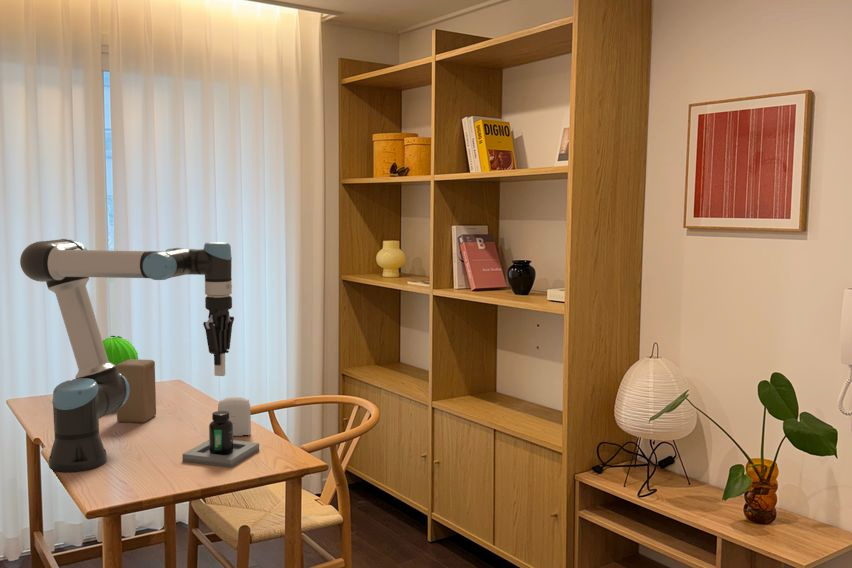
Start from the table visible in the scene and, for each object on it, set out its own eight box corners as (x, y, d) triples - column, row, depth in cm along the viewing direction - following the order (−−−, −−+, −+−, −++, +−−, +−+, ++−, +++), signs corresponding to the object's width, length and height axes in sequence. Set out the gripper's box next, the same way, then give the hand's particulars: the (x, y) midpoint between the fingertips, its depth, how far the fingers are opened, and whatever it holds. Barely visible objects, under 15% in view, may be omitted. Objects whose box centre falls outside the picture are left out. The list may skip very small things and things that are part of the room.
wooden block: (157, 415, 271) (155, 359, 269) (144, 423, 261) (142, 365, 259) (130, 414, 272) (128, 358, 270) (115, 422, 262) (113, 364, 260)
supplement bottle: (220, 457, 225) (220, 417, 224) (204, 453, 229) (203, 413, 228) (238, 451, 231) (237, 412, 230) (222, 447, 235) (221, 408, 233)
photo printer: (217, 437, 248) (216, 399, 246) (219, 433, 252) (218, 396, 250) (250, 436, 249) (249, 399, 247) (251, 432, 253) (251, 395, 251)
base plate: (231, 467, 220) (231, 459, 220) (182, 461, 225) (182, 453, 225) (259, 450, 235) (259, 443, 235) (213, 444, 240) (212, 437, 240)
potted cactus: (115, 412, 275) (112, 342, 272) (70, 404, 284) (68, 337, 281) (160, 398, 295) (158, 333, 292) (117, 391, 304) (115, 328, 301)
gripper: (217, 298, 218) (219, 381, 220) (241, 293, 230) (242, 371, 233) (194, 297, 220) (196, 379, 222) (219, 292, 232) (220, 369, 235)
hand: (219, 375), depth 227 cm, fingers closed
